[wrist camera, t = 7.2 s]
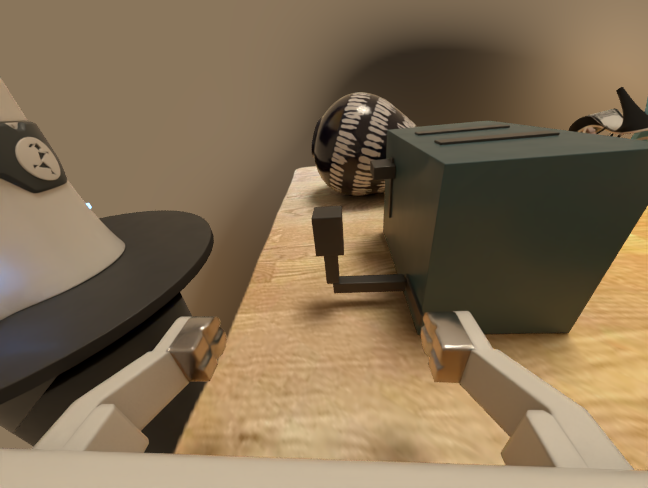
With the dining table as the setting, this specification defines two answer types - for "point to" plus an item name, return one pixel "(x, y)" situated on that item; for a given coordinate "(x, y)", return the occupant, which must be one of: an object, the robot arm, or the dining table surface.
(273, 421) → the dining table surface
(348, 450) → the dining table surface
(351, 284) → the toaster slider
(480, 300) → the toaster
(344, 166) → the vase
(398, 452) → the dining table surface
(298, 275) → the dining table surface
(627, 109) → the sandal
